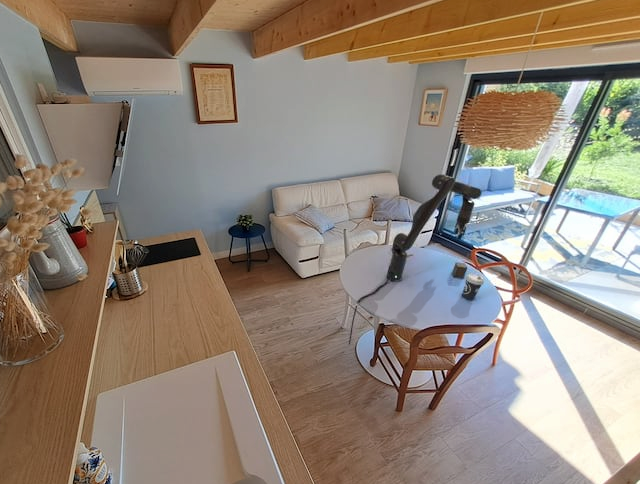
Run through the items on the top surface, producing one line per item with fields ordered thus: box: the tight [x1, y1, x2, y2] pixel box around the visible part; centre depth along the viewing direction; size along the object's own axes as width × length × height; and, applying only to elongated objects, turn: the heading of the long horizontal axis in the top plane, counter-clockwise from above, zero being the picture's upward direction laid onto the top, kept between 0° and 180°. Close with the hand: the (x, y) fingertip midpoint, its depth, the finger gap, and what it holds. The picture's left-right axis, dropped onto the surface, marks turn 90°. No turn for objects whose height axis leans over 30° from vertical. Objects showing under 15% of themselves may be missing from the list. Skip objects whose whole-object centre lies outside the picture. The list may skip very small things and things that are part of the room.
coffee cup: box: [461, 273, 485, 301], centre depth 177 cm, size 10×10×15 cm
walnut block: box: [451, 261, 468, 279], centre depth 200 cm, size 6×6×9 cm
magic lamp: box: [388, 247, 414, 259], centre depth 217 cm, size 7×18×11 cm, turn 77°
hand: (457, 236), depth 204 cm, fingers open, 8 cm apart
